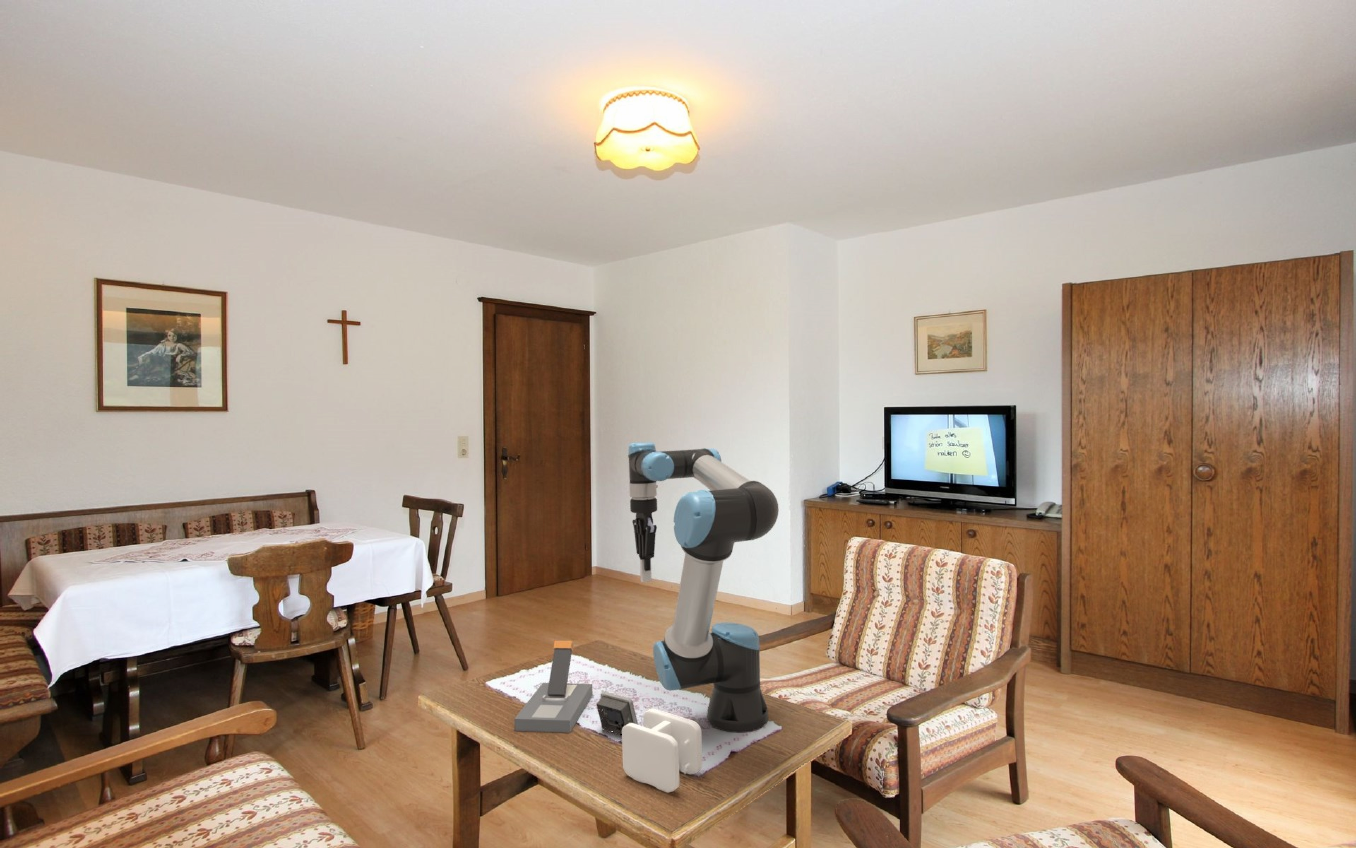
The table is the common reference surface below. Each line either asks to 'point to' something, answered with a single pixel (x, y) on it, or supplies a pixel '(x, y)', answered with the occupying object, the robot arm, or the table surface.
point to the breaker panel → (553, 709)
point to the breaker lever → (560, 668)
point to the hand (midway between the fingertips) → (646, 581)
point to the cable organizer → (661, 749)
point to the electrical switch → (615, 712)
